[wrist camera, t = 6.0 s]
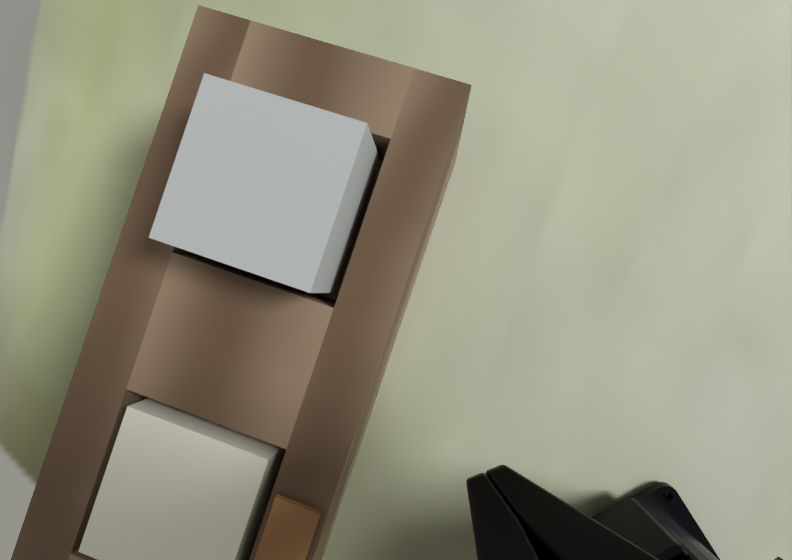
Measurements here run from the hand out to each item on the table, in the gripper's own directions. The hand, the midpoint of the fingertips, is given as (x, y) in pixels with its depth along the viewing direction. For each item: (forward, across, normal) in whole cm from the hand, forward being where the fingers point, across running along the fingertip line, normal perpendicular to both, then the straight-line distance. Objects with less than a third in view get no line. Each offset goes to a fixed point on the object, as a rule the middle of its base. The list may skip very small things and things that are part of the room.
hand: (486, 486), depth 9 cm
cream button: (+9, +8, +4) cm, 13 cm away
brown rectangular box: (+15, +4, +2) cm, 15 cm away
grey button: (+10, +2, -5) cm, 11 cm away
